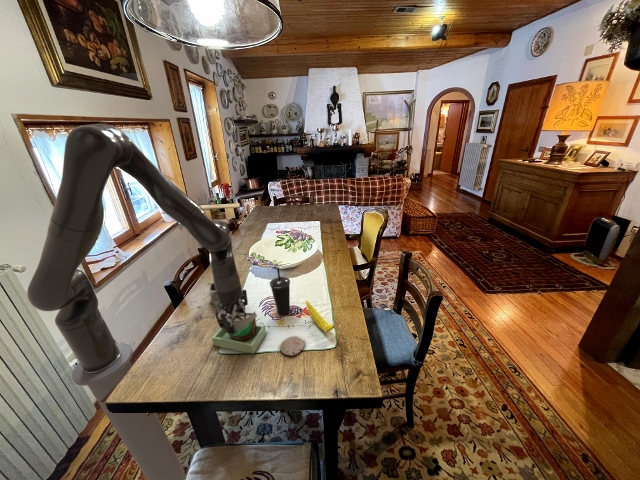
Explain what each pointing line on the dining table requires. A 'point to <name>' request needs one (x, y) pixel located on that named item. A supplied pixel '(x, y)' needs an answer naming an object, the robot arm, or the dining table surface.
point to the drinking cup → (281, 293)
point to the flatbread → (292, 345)
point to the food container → (243, 326)
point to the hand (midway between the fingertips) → (237, 325)
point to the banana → (318, 318)
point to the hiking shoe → (215, 298)
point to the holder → (250, 346)
